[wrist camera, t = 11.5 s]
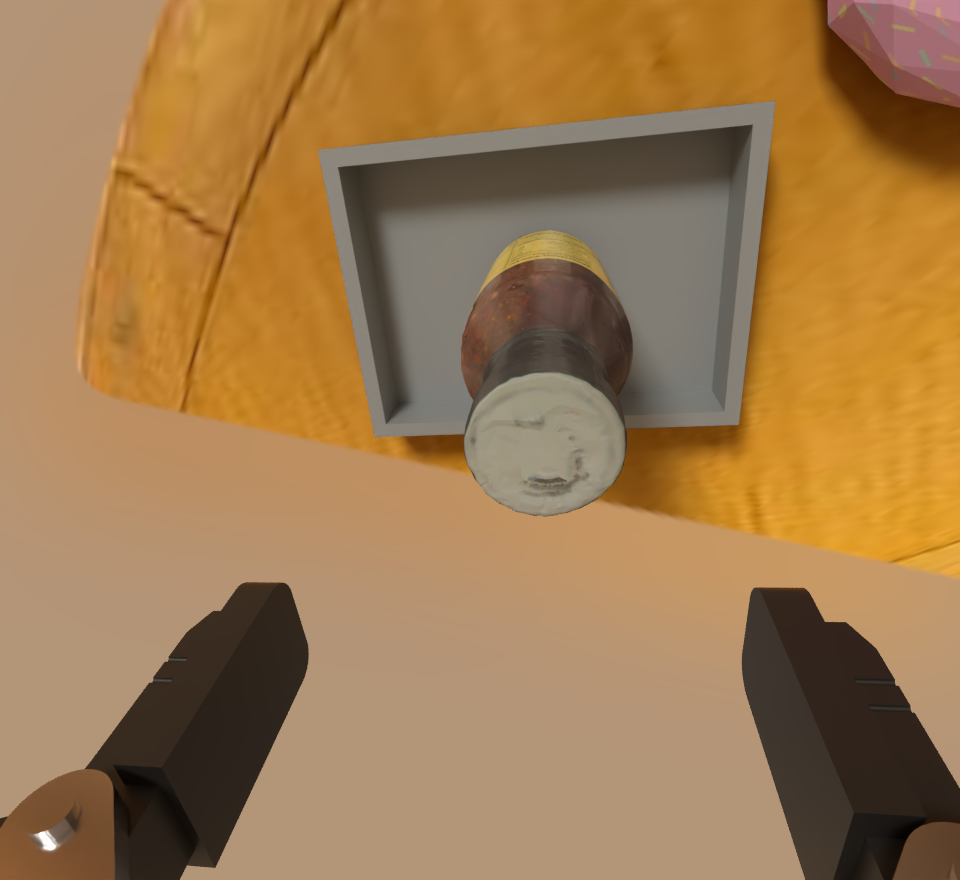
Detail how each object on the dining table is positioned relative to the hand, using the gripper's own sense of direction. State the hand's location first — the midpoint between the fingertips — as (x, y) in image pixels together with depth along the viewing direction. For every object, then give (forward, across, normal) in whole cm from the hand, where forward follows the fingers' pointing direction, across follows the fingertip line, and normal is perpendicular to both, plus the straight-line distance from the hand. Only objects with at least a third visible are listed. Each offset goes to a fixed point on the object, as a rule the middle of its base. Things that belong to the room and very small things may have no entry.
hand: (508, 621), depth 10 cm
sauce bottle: (+25, 0, 0) cm, 25 cm away
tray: (+25, 0, 0) cm, 25 cm away
